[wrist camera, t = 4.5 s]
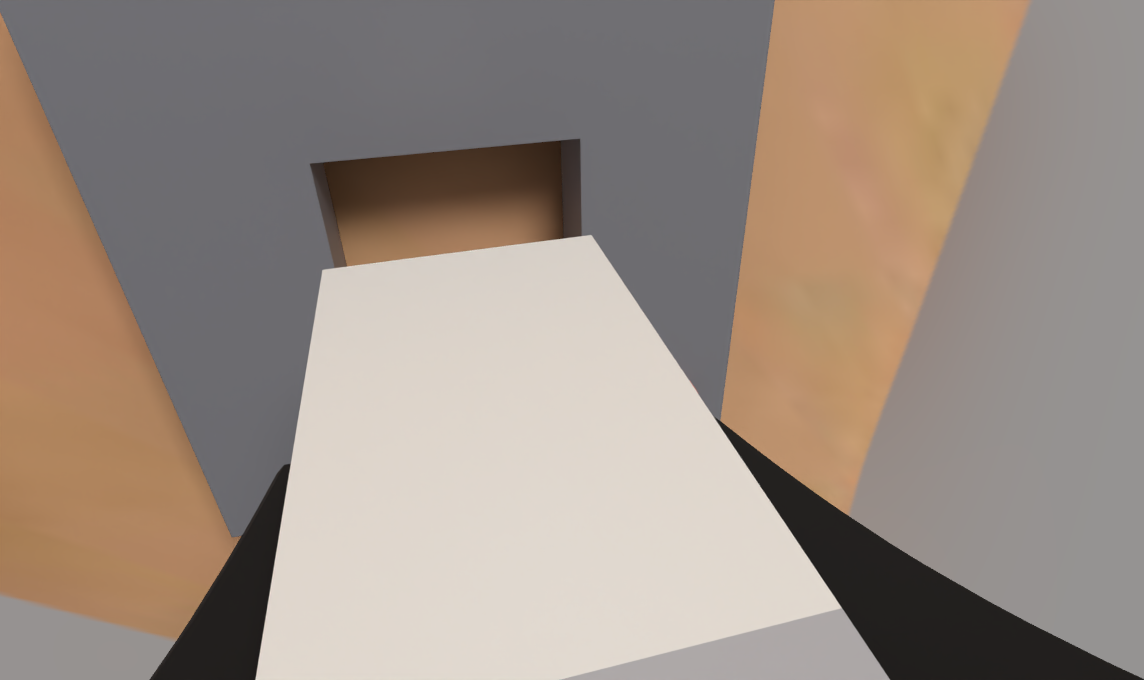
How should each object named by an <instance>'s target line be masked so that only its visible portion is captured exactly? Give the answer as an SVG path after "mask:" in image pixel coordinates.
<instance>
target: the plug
mask: <svg viewBox="0 0 1144 680" xmlns="http://www.w3.org/2000/svg"><path fill="white" fill-rule="evenodd" d="M256 680H890V679H889V677H888V676H887V675H886V673H885V672H884V670H883V669H882V667H881V666H880V664H879V663H878V661H877V660H876V658H875V657H874V655H873V654H872V652H871V651H870V649H869V648H868V646H867V645H866V643H865V642H864V640H863V639H862V637H861V636H860V634H859V633H858V631H857V630H856V628H855V627H854V625H853V624H852V622H851V621H850V619H849V618H848V616H847V615H846V613H845V612H844V610H843V609H842V607H841V606H840V604H839V603H838V602H837V600H836V599H835V597H834V596H833V594H832V593H831V591H830V590H829V588H828V587H827V585H826V584H825V582H824V581H823V579H822V578H821V576H820V575H819V573H818V572H817V570H816V569H815V567H814V566H813V564H812V563H811V561H810V560H809V558H808V557H807V555H806V554H805V552H804V551H803V549H802V548H801V546H800V545H799V543H798V542H797V540H796V539H795V537H794V536H793V534H792V533H791V531H790V530H789V529H788V527H787V526H786V524H785V523H784V521H783V520H782V518H781V517H780V515H779V514H778V512H777V511H776V509H775V508H774V506H773V505H772V503H771V502H770V500H769V499H768V497H767V496H766V494H765V493H764V491H763V490H762V488H761V487H760V485H759V484H758V482H757V481H756V479H755V478H754V476H753V475H752V473H751V472H750V470H749V469H748V467H747V466H746V464H745V463H744V461H743V460H742V458H741V457H740V456H739V454H738V453H737V451H736V450H735V448H734V447H733V445H732V444H731V442H730V441H729V439H728V438H727V436H726V435H725V433H724V432H723V430H722V429H721V427H720V426H719V424H718V423H717V421H716V420H715V418H714V417H713V415H712V414H711V412H710V411H709V409H708V408H707V406H706V405H705V403H704V402H703V400H702V399H701V397H700V396H699V394H698V393H697V391H696V390H695V388H694V387H693V386H692V384H691V383H690V381H689V380H688V378H687V377H686V375H685V374H684V372H683V371H682V369H681V368H680V366H679V365H678V363H677V362H676V360H675V359H674V357H673V356H672V354H671V353H670V351H669V350H668V348H667V347H666V345H665V344H664V342H663V341H662V339H661V338H660V336H659V335H658V333H657V332H656V330H655V329H654V327H653V326H652V324H651V323H650V321H649V320H648V318H647V317H646V315H645V314H644V313H643V311H642V310H641V308H640V307H639V305H638V304H637V302H636V301H635V299H634V298H633V296H632V295H631V293H630V292H629V290H628V289H627V287H626V286H625V284H624V283H623V281H622V280H621V278H620V277H619V275H618V274H617V272H616V271H615V269H614V268H613V266H612V265H611V263H610V262H609V260H608V259H607V257H606V256H605V254H604V253H603V251H602V250H601V248H600V247H599V245H598V244H597V242H596V241H595V240H594V238H593V237H592V235H587V236H579V237H572V238H564V239H556V240H549V241H541V242H533V243H525V244H518V245H510V246H502V247H495V248H487V249H479V250H471V251H464V252H456V253H448V254H441V255H433V256H425V257H417V258H410V259H402V260H394V261H387V262H379V263H371V264H364V265H356V266H348V267H340V268H333V269H325V270H322V276H321V282H320V288H319V294H318V300H317V307H316V313H315V319H314V325H313V331H312V337H311V343H310V349H309V355H308V362H307V368H306V374H305V380H304V386H303V392H302V398H301V404H300V411H299V417H298V423H297V429H296V435H295V441H294V447H293V453H292V460H291V466H290V472H289V478H288V484H287V490H286V496H285V502H284V508H283V515H282V521H281V527H280V533H279V539H278V545H277V551H276V557H275V563H274V570H273V576H272V582H271V588H270V594H269V600H268V606H267V612H266V619H265V625H264V631H263V637H262V643H261V649H260V655H259V661H258V667H257V674H256Z"/></svg>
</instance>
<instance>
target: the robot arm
mask: <svg viewBox="0 0 1144 680" xmlns="http://www.w3.org/2000/svg"><path fill="white" fill-rule="evenodd" d="M713 417H714V416H713ZM714 418H715V420H716V421H717V423H718V424H719V426H720V427H721V429H722V430H723V432H724V433H725V435H726V436H727V438H728V439H729V441H730V442H731V444H732V445H733V447H734V448H735V450H736V451H737V453H738V454H739V456H740V457H741V458H742V460H743V461H744V463H745V464H746V466H747V467H748V469H749V470H750V472H751V473H752V475H753V476H754V478H755V479H756V481H757V482H758V484H759V485H760V487H761V488H762V490H763V491H764V493H765V494H766V496H767V497H768V499H769V500H770V502H771V503H772V505H773V506H774V508H775V509H776V511H777V512H778V514H779V515H780V517H781V518H782V520H783V521H784V523H785V524H786V526H787V527H788V529H789V530H790V531H791V533H792V534H793V536H794V537H795V539H796V540H797V542H798V543H799V545H800V546H801V548H802V549H803V551H804V552H805V554H806V555H807V557H808V558H809V560H810V561H811V563H812V564H813V566H814V567H815V569H816V570H817V572H818V573H819V575H820V576H821V578H822V579H823V581H824V582H825V584H826V585H827V587H828V588H829V590H830V591H831V593H832V594H833V596H834V597H835V599H836V600H837V602H838V603H839V604H840V606H841V607H842V609H843V610H844V612H845V613H846V615H847V616H848V618H849V619H850V621H851V622H852V624H853V625H854V627H855V628H856V630H857V631H858V633H859V634H860V636H861V637H862V639H863V640H864V642H865V643H866V645H867V646H868V648H869V649H870V651H871V652H872V654H873V655H874V657H875V658H876V660H877V661H878V663H879V664H880V666H881V667H882V669H883V670H884V672H885V673H886V675H887V676H888V677H889V679H890V680H1144V679H1142V678H1140V677H1138V676H1136V675H1134V674H1131V673H1129V672H1127V671H1125V670H1122V669H1121V668H1118V667H1116V666H1114V665H1112V664H1110V663H1108V662H1106V661H1104V660H1102V659H1100V658H1098V657H1096V656H1094V655H1092V654H1090V653H1088V652H1086V651H1084V650H1082V649H1080V648H1078V647H1076V646H1074V645H1072V644H1070V643H1068V642H1066V641H1064V640H1062V639H1060V638H1058V637H1056V636H1054V635H1052V634H1050V633H1048V632H1046V631H1044V630H1042V629H1040V628H1038V627H1036V626H1034V625H1032V624H1030V623H1028V622H1026V621H1024V620H1022V619H1021V618H1019V617H1017V616H1015V615H1013V614H1011V613H1009V612H1007V611H1006V610H1004V609H1002V608H1000V607H998V606H996V605H994V604H992V603H991V602H989V601H987V600H985V599H983V598H982V597H980V596H978V595H977V594H975V593H973V592H971V591H970V590H968V589H966V588H964V587H963V586H961V585H959V584H957V583H956V582H954V581H952V580H950V579H949V578H947V577H945V576H943V575H942V574H940V573H938V572H936V571H935V570H933V569H931V568H929V567H928V566H926V565H924V564H922V563H921V562H919V561H918V560H916V559H914V558H913V557H911V556H909V555H908V554H906V553H905V552H903V551H901V550H900V549H898V548H897V547H895V546H893V545H892V544H890V543H888V542H887V541H886V540H884V539H883V538H881V537H880V536H878V535H876V534H875V533H873V532H872V531H870V530H869V529H867V528H866V527H864V526H863V525H861V524H860V523H858V522H857V521H855V520H854V519H852V518H851V517H849V516H848V515H846V514H845V513H843V512H842V511H840V510H839V509H837V508H836V507H834V506H833V505H832V504H830V503H829V502H827V501H826V500H824V499H823V498H822V497H820V496H819V495H817V494H816V493H814V492H813V491H812V490H810V489H809V488H808V487H806V486H805V485H803V484H802V483H801V482H799V481H798V480H797V479H795V478H794V477H792V476H791V475H790V474H788V473H787V472H786V471H784V470H783V469H782V468H780V467H779V466H778V465H776V464H775V463H774V462H772V461H771V460H770V459H768V458H767V457H766V456H764V455H763V454H762V453H760V452H759V451H758V450H757V449H755V448H754V447H753V446H751V445H750V444H749V443H748V442H746V441H745V440H744V439H742V438H741V437H740V436H739V435H737V434H736V433H735V432H733V431H732V430H731V429H730V428H728V427H727V426H726V425H725V424H723V423H722V422H721V421H719V420H718V419H717V418H716V417H714ZM290 466H291V464H286V465H283V467H282V468H281V469H280V470H279V471H278V473H277V474H276V476H275V478H274V479H273V481H272V483H271V485H270V487H269V489H268V490H267V492H266V494H265V496H264V498H263V499H262V501H261V503H260V505H259V507H258V508H257V510H256V512H255V514H254V516H253V517H252V519H251V521H250V523H249V524H248V526H247V528H246V530H245V531H244V533H243V535H242V536H241V538H240V540H239V541H238V543H237V545H236V547H235V548H234V550H233V552H232V553H231V555H230V557H229V558H228V560H227V562H226V563H225V565H224V567H223V568H222V570H221V572H220V573H219V575H218V576H217V578H216V580H215V581H214V583H213V584H212V586H211V588H210V589H209V591H208V592H207V594H206V596H205V597H204V599H203V600H202V602H201V604H200V605H199V607H198V608H197V610H196V612H195V613H194V615H193V616H192V618H191V620H190V621H189V623H188V624H187V626H186V627H185V629H184V630H183V632H182V633H181V635H180V636H179V638H178V639H177V641H176V642H175V644H174V645H173V647H172V648H171V650H170V651H169V653H168V654H167V656H166V657H165V658H164V660H163V661H162V663H161V664H160V666H159V667H158V669H157V670H156V671H155V673H154V674H153V676H152V677H151V679H150V680H256V674H257V667H258V661H259V655H260V649H261V643H262V637H263V631H264V625H265V619H266V612H267V606H268V600H269V594H270V588H271V582H272V576H273V570H274V563H275V557H276V551H277V545H278V539H279V533H280V527H281V521H282V515H283V508H284V502H285V496H286V490H287V484H288V478H289V472H290Z"/></svg>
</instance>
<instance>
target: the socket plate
mask: <svg viewBox="0 0 1144 680" xmlns="http://www.w3.org/2000/svg"><path fill="white" fill-rule="evenodd" d="M774 1H775V0H0V12H1V15H2V17H3V19H4V22H5V24H6V26H7V28H8V31H9V33H10V35H11V37H12V40H13V42H14V44H15V46H16V49H17V51H18V53H19V56H20V58H21V60H22V62H23V65H24V67H25V69H26V71H27V74H28V76H29V78H30V81H31V83H32V85H33V87H34V90H35V92H36V94H37V96H38V99H39V101H40V103H41V105H42V108H43V110H44V112H45V115H46V117H47V119H48V121H49V124H50V126H51V128H52V130H53V133H54V135H55V137H56V139H57V142H58V144H59V146H60V149H61V151H62V153H63V155H64V158H65V160H66V162H67V164H68V167H69V169H70V171H71V174H72V176H73V178H74V180H75V183H76V185H77V187H78V189H79V192H80V194H81V196H82V198H83V201H84V203H85V205H86V208H87V210H88V212H89V214H90V217H91V219H92V221H93V223H94V226H95V228H96V230H97V232H98V235H99V237H100V239H101V242H102V244H103V246H104V248H105V251H106V253H107V255H108V257H109V260H110V262H111V264H112V266H113V269H114V271H115V273H116V276H117V278H118V280H119V282H120V285H121V287H122V289H123V291H124V294H125V296H126V298H127V301H128V303H129V305H130V307H131V310H132V312H133V314H134V316H135V319H136V321H137V323H138V325H139V328H140V330H141V332H142V335H143V337H144V339H145V341H146V344H147V346H148V348H149V350H150V353H151V355H152V357H153V359H154V362H155V364H156V366H157V369H158V371H159V373H160V375H161V378H162V380H163V382H164V384H165V387H166V389H167V391H168V394H169V396H170V398H171V400H172V403H173V405H174V407H175V409H176V412H177V414H178V416H179V418H180V421H181V423H182V425H183V428H184V430H185V432H186V434H187V437H188V439H189V441H190V443H191V446H192V448H193V450H194V452H195V455H196V457H197V459H198V462H199V464H200V466H201V468H202V471H203V473H204V475H205V477H206V480H207V482H208V484H209V486H210V489H211V491H212V493H213V496H214V498H215V500H216V502H217V505H218V507H219V509H220V511H221V514H222V516H223V518H224V521H225V523H226V525H227V527H228V530H229V532H230V534H231V536H232V537H237V536H242V535H243V533H244V531H245V530H246V528H247V526H248V524H249V523H250V521H251V519H252V517H253V516H254V514H255V512H256V510H257V508H258V507H259V505H260V503H261V501H262V499H263V498H264V496H265V494H266V492H267V490H268V489H269V487H270V485H271V483H272V481H273V479H274V478H275V476H276V474H277V473H278V471H279V470H280V469H281V468H282V467H283V465H286V464H291V460H292V453H293V447H294V441H295V435H296V429H297V423H298V417H299V411H300V404H301V398H302V392H303V386H304V380H305V374H306V368H307V362H308V355H309V349H310V343H311V337H312V331H313V325H314V319H315V313H316V307H317V300H318V294H319V288H320V282H321V276H322V270H325V269H333V268H340V267H347V265H346V261H345V257H344V252H343V248H342V243H341V239H340V235H339V230H338V226H337V221H336V217H335V213H334V208H333V204H332V200H331V195H330V191H329V186H328V182H327V178H326V173H325V169H324V164H323V162H332V161H343V160H354V159H365V158H376V157H386V156H397V155H408V154H419V153H430V152H440V151H451V150H462V149H473V148H484V147H494V146H505V145H516V144H527V143H538V142H548V141H559V140H561V172H562V205H563V238H572V237H579V236H587V235H592V237H593V238H594V240H595V241H596V242H597V244H598V245H599V247H600V248H601V250H602V251H603V253H604V254H605V256H606V257H607V259H608V260H609V262H610V263H611V265H612V266H613V268H614V269H615V271H616V272H617V274H618V275H619V277H620V278H621V280H622V281H623V283H624V284H625V286H626V287H627V289H628V290H629V292H630V293H631V295H632V296H633V298H634V299H635V301H636V302H637V304H638V305H639V307H640V308H641V310H642V311H643V313H644V314H645V315H646V317H647V318H648V320H649V321H650V323H651V324H652V326H653V327H654V329H655V330H656V332H657V333H658V335H659V336H660V338H661V339H662V341H663V342H664V344H665V345H666V347H667V348H668V350H669V351H670V353H671V354H672V356H673V357H674V359H675V360H676V362H677V363H678V365H679V366H680V368H681V369H682V371H683V372H684V374H685V375H686V377H687V378H688V380H689V381H690V383H691V384H692V386H693V387H694V388H695V390H696V391H697V393H698V394H699V396H700V397H701V399H702V400H703V402H704V403H705V405H706V406H707V408H708V409H709V411H710V412H711V414H712V415H713V416H714V417H716V418H717V419H718V420H719V421H720V418H721V411H722V403H723V395H724V387H725V380H726V372H727V364H728V357H729V349H730V341H731V333H732V326H733V318H734V310H735V302H736V295H737V287H738V279H739V272H740V264H741V256H742V248H743V241H744V233H745V225H746V218H747V210H748V202H749V194H750V187H751V179H752V171H753V163H754V156H755V148H756V140H757V133H758V125H759V117H760V109H761V102H762V94H763V86H764V79H765V71H766V63H767V55H768V48H769V40H770V32H771V25H772V17H773V9H774Z"/></svg>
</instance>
